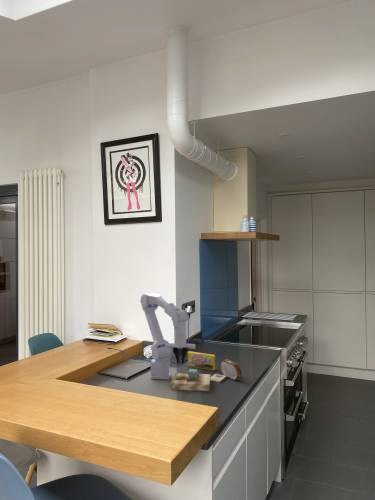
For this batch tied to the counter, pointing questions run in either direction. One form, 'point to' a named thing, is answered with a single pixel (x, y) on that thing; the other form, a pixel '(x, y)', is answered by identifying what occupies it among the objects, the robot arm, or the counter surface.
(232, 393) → the counter surface
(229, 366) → the tin
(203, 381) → the board
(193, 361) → the candy box
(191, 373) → the block
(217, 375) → the chocolate bar
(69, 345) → the counter surface
